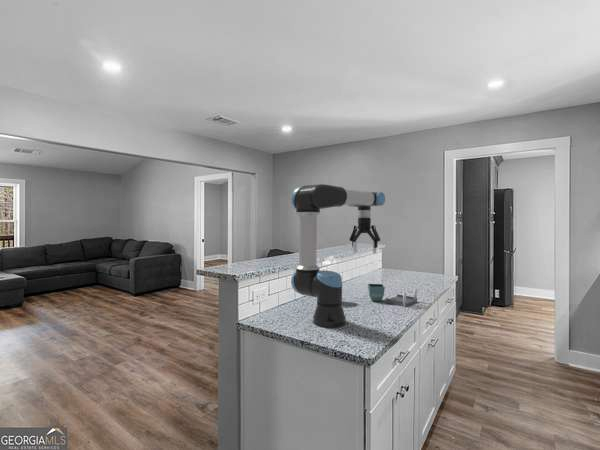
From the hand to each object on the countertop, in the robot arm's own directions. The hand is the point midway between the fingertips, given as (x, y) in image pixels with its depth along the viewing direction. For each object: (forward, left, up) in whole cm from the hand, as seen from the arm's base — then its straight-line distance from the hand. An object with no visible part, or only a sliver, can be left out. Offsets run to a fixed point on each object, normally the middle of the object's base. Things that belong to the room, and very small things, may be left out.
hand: (364, 253), depth 194 cm
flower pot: (+2, -7, -28) cm, 29 cm away
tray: (+8, -20, -28) cm, 35 cm away
